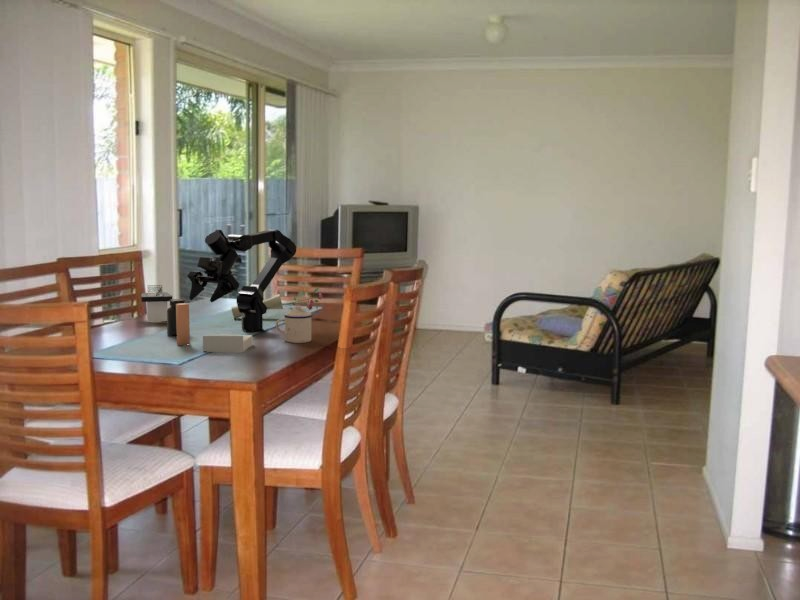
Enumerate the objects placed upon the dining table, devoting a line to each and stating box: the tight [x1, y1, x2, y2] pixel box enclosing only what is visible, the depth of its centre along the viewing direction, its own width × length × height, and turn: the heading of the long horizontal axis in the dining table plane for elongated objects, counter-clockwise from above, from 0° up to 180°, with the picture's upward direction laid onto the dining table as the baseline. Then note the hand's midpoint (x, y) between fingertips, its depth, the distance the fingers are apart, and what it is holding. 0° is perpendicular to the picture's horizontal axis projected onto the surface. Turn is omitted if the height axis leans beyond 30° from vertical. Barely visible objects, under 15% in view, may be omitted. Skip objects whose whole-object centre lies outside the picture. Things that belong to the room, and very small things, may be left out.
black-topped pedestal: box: [140, 284, 173, 323], centre depth 304 cm, size 28×26×13 cm
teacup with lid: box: [275, 305, 313, 344], centre depth 267 cm, size 12×9×12 cm
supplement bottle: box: [166, 298, 185, 336], centre depth 275 cm, size 7×7×12 cm
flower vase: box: [230, 286, 323, 320], centre depth 314 cm, size 12×12×35 cm
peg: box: [176, 302, 191, 346], centre depth 257 cm, size 4×4×13 cm
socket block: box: [202, 334, 253, 354], centre depth 253 cm, size 14×12×5 cm
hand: (200, 300), depth 263 cm, fingers open, 9 cm apart
